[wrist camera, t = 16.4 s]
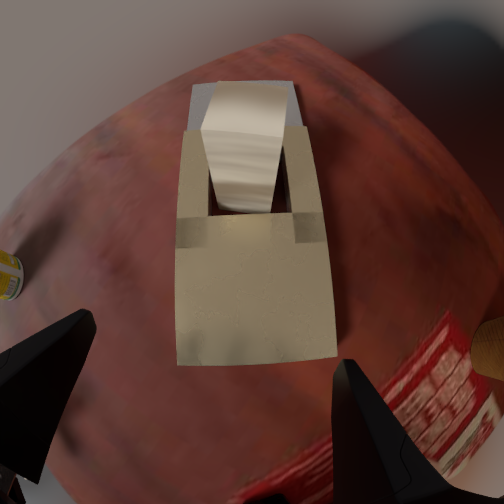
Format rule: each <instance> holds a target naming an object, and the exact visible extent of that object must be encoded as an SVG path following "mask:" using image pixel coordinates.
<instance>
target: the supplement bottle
mask: <svg viewBox="0 0 504 504" xmlns="http://www.w3.org/2000/svg"><path fill="white" fill-rule="evenodd" d="M23 279H24V272H23V267H22V264H21V262H20V260H19V259H18V258H17V257H15V256H13V255H11V254H9V253H6V252H4V251H2V250H0V299H4V300H13V299H15V298H16V297H17V296H18V294H19V293H20V291H21V288H22V285H23Z"/></svg>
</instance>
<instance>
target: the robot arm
mask: <svg viewBox="0 0 504 504" xmlns="http://www.w3.org/2000/svg"><path fill="white" fill-rule="evenodd" d="M96 329H97V328H96V324H95V321H94V318H93V315H92V312H91V311H89V310H86V309H80V310H78V311H76V312H74V313H72V314H70V315H68V316H67V317H65V318H63V319H61V320H59V321H57V322H56V323H54V324H52V325H50V326H48V327H46V328H45V329H43V330H41V331H39V332H37V333H36V334H34V335H32V336H30V337H29V338H27V339H25V340H23V341H22V342H20V343H18V344H16V345H15V346H13V347H12V348H9V349H8V350H6V351H4V352H2V353H0V504H25V503H26V501H25V499H24V496H23V493H22V490H21V488H20V485H19V482H18V479H17V478H16V474H18V475H20V476H22V477H24V478H26V479H27V480H29V481H31V482H34V483H35V484H38V483H39V480H40V477H41V473H42V470H43V467H44V464H45V460H46V457H47V454H48V451H49V448H50V445H51V442H52V439H53V437H54V434H55V431H56V429H57V426H58V423H59V421H60V418H61V416H62V413H63V411H64V408H65V406H66V404H67V401H68V399H69V397H70V394H71V392H72V390H73V387H74V385H75V383H76V381H77V379H78V376H79V374H80V372H81V370H82V368H83V366H84V363H85V361H86V358H87V355H88V352H89V350H90V347H91V344H92V342H93V339H94V336H95V334H96ZM331 423H332V443H333V504H504V495H503V496H501V497H500V498H492V497H488V496H483V495H479V494H476V493H472V492H468V491H465V490H461V489H458V488H456V487H454V486H452V485H451V484H449V483H448V482H447V481H446V480H445V479H444V478H443V477H442V476H441V475H440V474H439V473H438V471H437V470H436V469H435V468H434V467H433V466H432V465H431V464H430V462H429V461H428V460H427V459H426V458H425V457H424V455H423V454H422V453H421V452H420V450H419V449H418V448H417V446H416V445H415V444H414V442H413V441H412V440H411V438H410V437H409V435H408V434H406V431H405V430H404V428H403V427H402V425H401V424H400V423H399V421H398V420H397V418H396V417H395V416H394V414H393V413H392V411H391V410H390V409H389V407H388V406H387V404H386V403H385V402H384V400H383V399H382V397H381V396H380V395H379V393H378V392H377V390H376V389H375V388H374V386H373V385H372V384H371V382H370V381H369V379H368V378H367V377H366V375H365V374H364V373H363V371H362V370H361V368H360V367H359V366H358V364H357V363H356V362H355V361H354V360H353V359H342V360H341V362H340V363H339V365H338V367H337V369H336V371H335V372H334V375H333V391H332V410H331ZM277 498H281V499H277ZM250 504H290V502H289V501H288V500H287V499H286V497H285V496H284V495H283V494H276V495H273V496H271V497H268V498H266V499H263V500H260V501H256V502H253V503H250Z"/></svg>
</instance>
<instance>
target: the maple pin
mask: <svg viewBox="0 0 504 504" xmlns="http://www.w3.org/2000/svg"><path fill="white" fill-rule="evenodd" d="M287 97H288V87H283V86H275V85H267V84H258V83H246V82H232V81H218V83H217V85H216V88H215V90H214V93H213V96H212V98H211V101H210V104H209V107H208V109H207V112H206V115H205V118H204V121H203V123H202V126H201V129H200V130H201V134H202V139H203V143H204V148H205V152H206V156H207V161H208V165H209V169H210V174H211V178H212V182H213V186H214V190H215V195H216V199H217V203H218V207H219V209H221V210H229V211H237V212H244V213H251V214H267V213H270V211H271V205H272V199H273V194H274V188H275V182H276V176H277V170H278V165H279V159H280V153H281V147H282V141H283V134H284V125H285V116H286V106H287Z"/></svg>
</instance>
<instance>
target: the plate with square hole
mask: <svg viewBox="0 0 504 504" xmlns="http://www.w3.org/2000/svg"><path fill="white" fill-rule="evenodd" d="M233 82H246V83H258V84H267V85H275V86H283V87H288V97H287V106H286V116H285V125H284V134H283V141H282V147H281V153H280V159H279V160H281V164H282V172H283V180H284V189H285V197H286V206H287V213H267V214H243V215H223V216H212V178H211V174H210V169H209V165H208V161H207V156H206V152H205V148H204V143H203V139H202V134H201V130H200V129H201V126H202V123H203V121H204V118H205V115H206V112H207V109H208V107H209V104H210V101H211V98H212V96H213V93H214V90H215V88H216V85H217V83H218V82H217V83H206V84H196V85H193V89H192V96H191V103H190V111H189V119H188V127H187V131H184V135H183V144H182V154H181V164H180V176H179V189H178V204H177V222H176V248H175V322H176V348H177V365H189V366H223V365H252V364H269V363H282V362H294V361H304V360H313V359H321V358H329V357H336V356H337V339H336V324H335V310H334V299H333V288H332V278H331V269H330V260H329V252H328V244H327V237H326V230H325V223H324V216H323V210H322V203H321V197H320V191H319V186H318V180H317V175H316V169H315V164H314V159H313V154H312V149H311V144H310V139H309V135H308V130H307V126H303V124H302V119H301V115H300V110H299V106H298V102H297V98H296V93H295V89H294V85H293V81H233Z"/></svg>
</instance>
